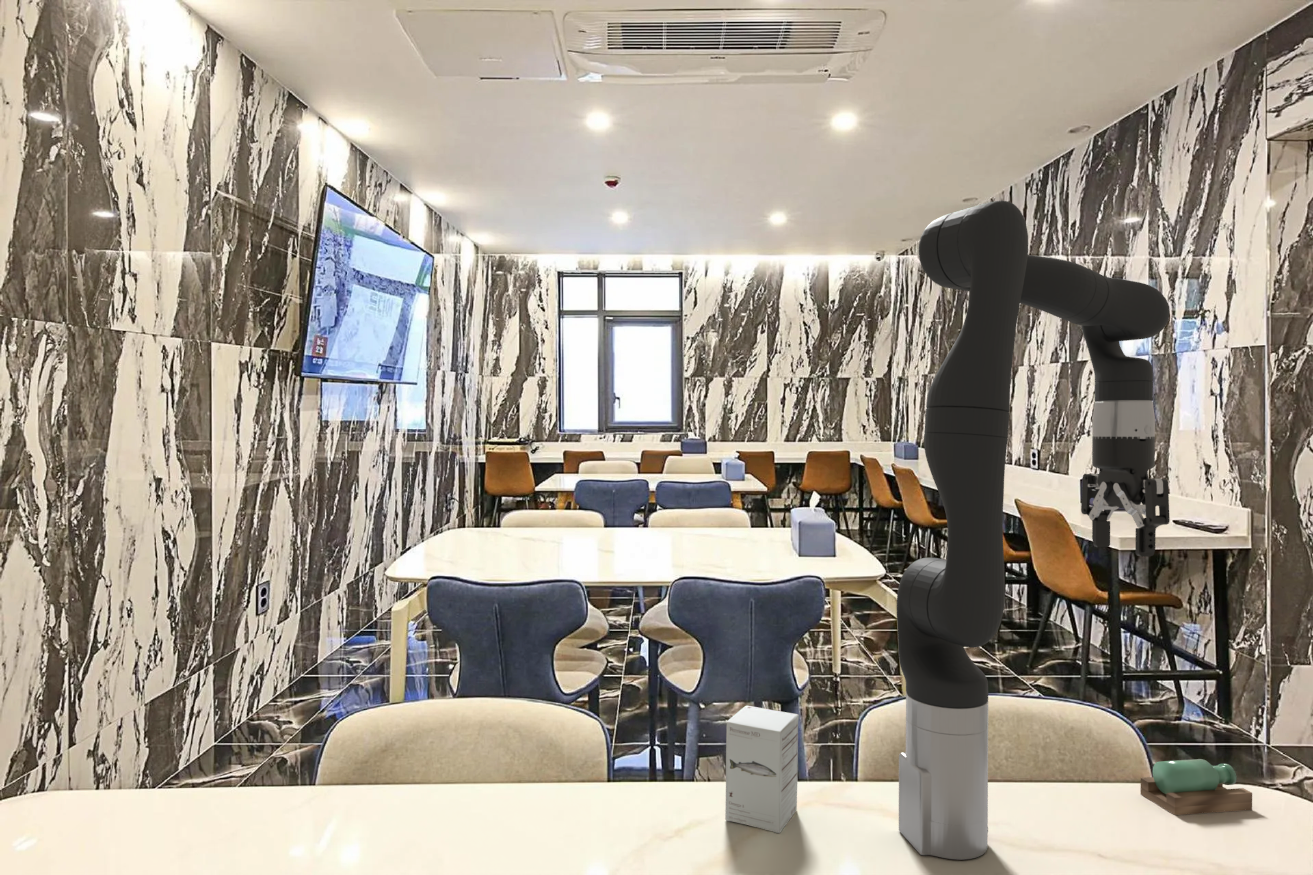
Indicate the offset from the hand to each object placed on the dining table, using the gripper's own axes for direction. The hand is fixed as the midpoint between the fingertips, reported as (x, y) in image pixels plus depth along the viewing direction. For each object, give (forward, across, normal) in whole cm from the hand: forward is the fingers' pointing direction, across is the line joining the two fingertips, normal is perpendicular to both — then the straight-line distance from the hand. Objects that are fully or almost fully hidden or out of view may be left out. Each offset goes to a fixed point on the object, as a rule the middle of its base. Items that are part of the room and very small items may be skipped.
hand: (1122, 551), depth 112 cm
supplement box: (+32, +3, -52) cm, 61 cm away
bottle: (+29, +7, +6) cm, 30 cm away
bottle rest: (+32, +7, +6) cm, 33 cm away
